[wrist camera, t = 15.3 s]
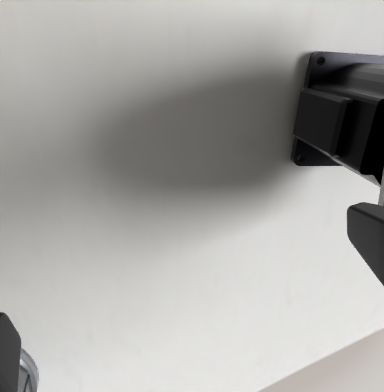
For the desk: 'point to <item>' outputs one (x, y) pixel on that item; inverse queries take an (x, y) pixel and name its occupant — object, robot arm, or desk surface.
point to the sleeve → (27, 374)
